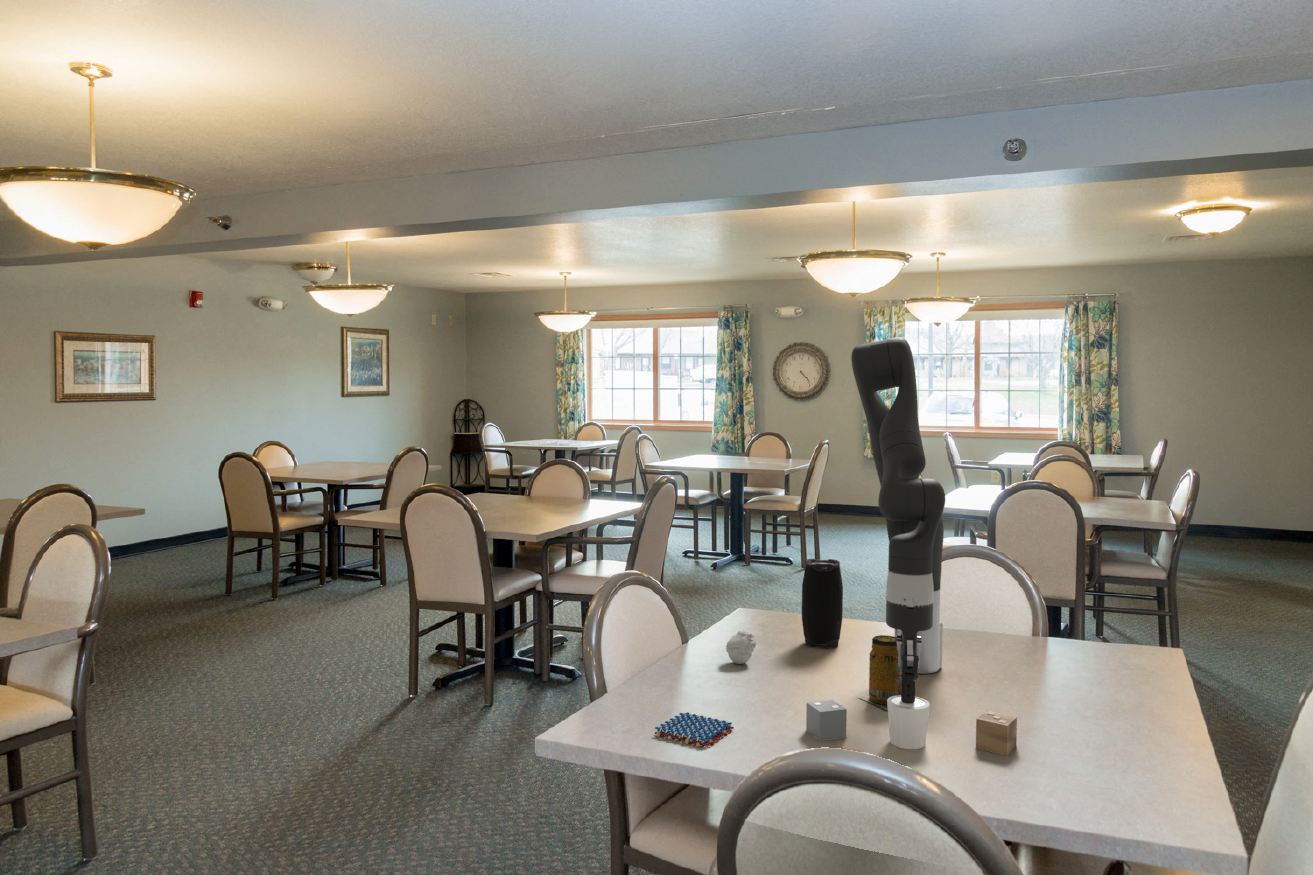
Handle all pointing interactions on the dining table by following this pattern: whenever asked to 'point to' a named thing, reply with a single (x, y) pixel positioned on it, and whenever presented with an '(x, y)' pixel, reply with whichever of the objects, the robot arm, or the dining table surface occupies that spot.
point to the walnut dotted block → (996, 732)
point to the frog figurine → (741, 647)
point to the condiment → (883, 671)
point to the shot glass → (908, 722)
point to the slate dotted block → (826, 720)
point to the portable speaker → (822, 602)
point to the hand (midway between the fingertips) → (907, 701)
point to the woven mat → (694, 729)
